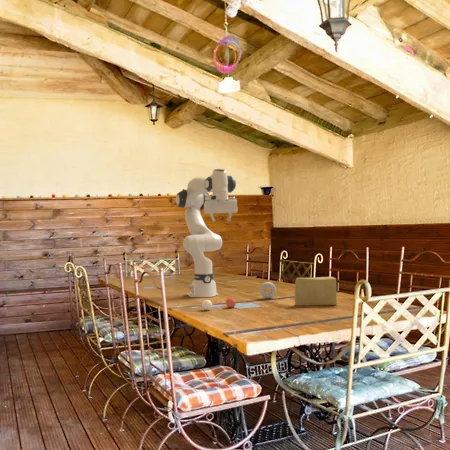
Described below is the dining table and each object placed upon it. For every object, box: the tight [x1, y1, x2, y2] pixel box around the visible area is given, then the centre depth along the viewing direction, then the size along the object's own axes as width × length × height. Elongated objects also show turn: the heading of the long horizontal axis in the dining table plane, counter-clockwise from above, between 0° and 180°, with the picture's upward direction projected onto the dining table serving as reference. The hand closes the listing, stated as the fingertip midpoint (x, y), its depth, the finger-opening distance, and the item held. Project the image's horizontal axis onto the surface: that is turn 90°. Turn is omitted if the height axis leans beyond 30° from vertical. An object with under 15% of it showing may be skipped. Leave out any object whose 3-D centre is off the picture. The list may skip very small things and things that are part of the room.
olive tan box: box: [294, 276, 338, 306], centre depth 280 cm, size 22×10×15 cm, turn 92°
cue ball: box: [201, 299, 213, 311], centre depth 272 cm, size 6×6×6 cm
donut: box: [259, 281, 277, 299], centre depth 306 cm, size 10×4×10 cm, turn 90°
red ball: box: [225, 297, 237, 309], centre depth 278 cm, size 6×6×6 cm
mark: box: [233, 302, 263, 310], centre depth 281 cm, size 14×14×1 cm
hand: (221, 221), depth 294 cm, fingers open, 8 cm apart
